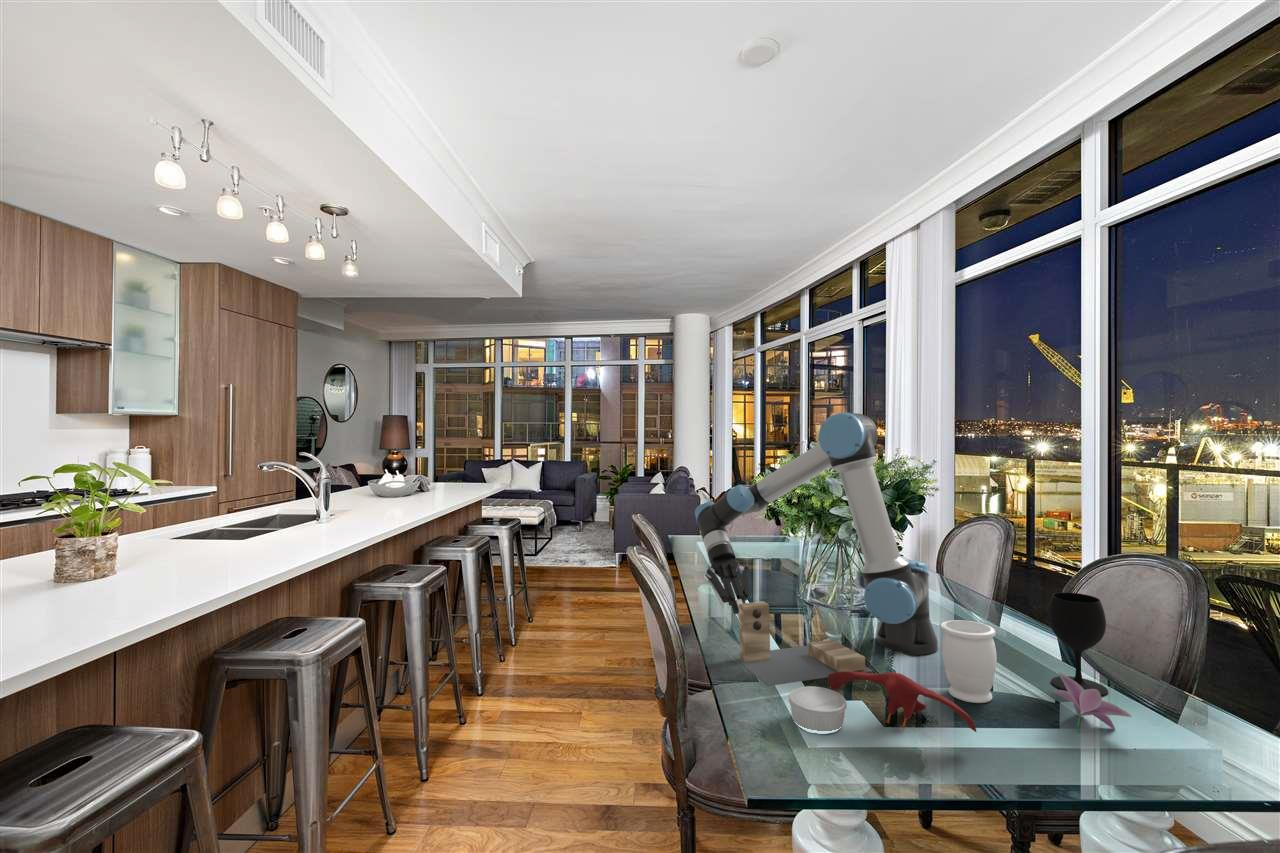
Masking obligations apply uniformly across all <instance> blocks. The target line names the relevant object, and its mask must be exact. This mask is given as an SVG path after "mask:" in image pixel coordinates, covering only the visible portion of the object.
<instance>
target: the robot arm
mask: <svg viewBox="0 0 1280 853" xmlns="http://www.w3.org/2000/svg"><path fill="white" fill-rule="evenodd" d="M878 436H879V435H878V427H877V426H876V423H875V422H874V421H873V420H872V419H871V418H870V417H869V416H867V415H865V414H862V413H851V412H848V411H847V412H846V411H843V412H838V413H835V414H832V415H830V416H828V417H827V418H826V419H825V420H824V421H823V422H822V423H821V425H820V428H819V431H818V437H817V438H818V444H816V445H814V446H813V447H811V448H809V449H808V450H806V451H805V452H803V453H802V454H800V455H798V456H797V457H796V458H793V459H792V460H790V461H789V462H787V463H786V464H784V465H782V466H781V467H779V468H778V469H775V470H774V471H773V472H771V473H770V474H768V475H767V476H765V477H763V478H762V479H759V481H757V482H755V483H753V484H752V485H750V486H749V487H747V486H744V485H743V484H737V485H735V486H734V487H733V488H730V489H729V490H728V492H726V494H724V495H723V496H722V497H721V498H719V499H718V500H717V501H716V502H712V501H706V502H704V503H701V504H699V505H697V507H696V508H695V510H694V515H695V520H696V525H697V527H698V530H699V531H700V535H701V537H702V542H703V545H704V547H705V550H706V553H707V557H708V560H709V564H710V568H708V569H706V572H705V575H704V576H705V577H706V578H707V579H708V580H709V581H710V583H711V584H712V586H713V588H714V589H715V591H716V593H717V595H718V596H719V599H721V601H722V602H723V604H725V603H727V604H728V605H729V606H730V608H731V610H732V613H733V614H734V615H737V619H738V620H739V604H743V603H747V602H746V601H747V600H748V599H749V597H750V593H751V592H750V587H749V577H748V576H749V575H748V573H749V572H748V571H749V566H748V565H744V566H742V565H740V562H739V561H738V560H737V558H736V554H735V551H734V549H733V546H732V542H731V539H730V537H729V535H728V532H727V529H726V527H727V526H729V525H730V524H731V523H732V522H734V521H735V520H737V519H738V518H740V517H741V516H744V515H748V514H751V513H758V512H760V511H761V510H763V509H765V508H766V507H767V506H768V505H769V504H770V503H772V502H775V501H776V500H778V499H779V498H781V497H782V496H784V495H786V494H787V493H790V492H791V491H793V490H795V489H796V488H798V487H800V486H801V485H803V484H805V483H806V482H808V481H809V480H811V479H813V478H815V477H817V476H818V475H820V474H821V473H824V472H825V471H827V470H829V469H830V468H831V469H832V470H834V471H836V472H838V473H839V475H840V478H841V483H842V487H843V489H844V492H845V497H846V500H847V503H848V507H849V510H850V514H851V517H852V520H853V524H854V528H855V531H856V534H857V537H858V541H859V545H860V549H861V552H862V556H863V559H864V566H863V567H862V569H861V573H862V578H863V580H864V585H865V589H864V595H863V600H864V604H865V607H866V609H867V610H868V612H869V613H870V614H871V615H872V616H873V618H876V619H877V620H878V621H880V622H879V625H878V629H877V633H876V642H877V643H878V645H880V646H882V647H884V648H885V649H888V650H891V651H894V652H895V651H896V652H900V653H902V654H905V655H912V656H913V655H914V656H919V655H920V656H921V655H929V654H933V653H935V652H937V651H938V649H939V647H938V646H939V644H938V643H939V642H938V641H939V640H938V637H937V635H936V633H935V630H934V627H933V624H932V621H931V618H930V591H929V590H930V588H929V585H930V584H929V575H930V572H929V567H928V565H927V563H925V562H923V561H919V560H911V559H905V558H903V557H902V556H901V554H900V551H899V550H900V549H899V548H898V543H897V541H896V537H895V533H894V532H893V528H892V524H891V521H890V518H889V514H888V510H887V508H886V507H887V506H886V505H885V501H884V497H883V494H882V491H881V486H880V484H879V480H878V477H877V474H876V471H875V467H874V464H875V462H876V461H877V459H878V456H877V451H876V449H875V445H876V443H877V441H878ZM738 572H739V574H740V575H741V576H740V581H741V582H740V581H739V578H738Z"/></svg>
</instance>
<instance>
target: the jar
mask: <svg viewBox="0 0 1280 853" xmlns="http://www.w3.org/2000/svg"><path fill="white" fill-rule="evenodd" d="M941 630H942V631H943V632H944V633H943V637H942V642H941V653H942V659H943V660H942V661H943V665H944V670H945V671H944V672H945V675H946V677H947V681H948V682H949V685H950V686H949V688H948V693H949V694H950V695H951V696H952V697H953V698H955V699H958V700H960V701H963V702H966V703H972V704H985V703H989V702H991V701H992V699H993V694H992V693H991V690H992V688H993V685H994V682H995V674H996V671H997V649H996V645H995V641H994V637H995V636H996V629H995V628H994V627H992V626H991V625H989V624H986V623H982V622H978V621H971V620H964V619H963V620H961V619H958V620H957V619H956V620H955V619H954V620H946V621H944V622H942V623H941Z"/></svg>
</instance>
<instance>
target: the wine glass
mask: <svg viewBox="0 0 1280 853" xmlns="http://www.w3.org/2000/svg"><path fill="white" fill-rule="evenodd" d="M1048 604H1049V605H1048V612H1047V613H1048V614H1047V615H1048V621H1049V626H1050V628H1051V630H1052V631H1053V632H1052V633H1054V634H1055V636H1056V637H1057V638H1058V639H1059V640H1060V641H1061V642H1062V643H1063V644H1064V645H1065V646H1066V647H1068V648H1070V649H1071V650H1072V651H1073V653H1074V654H1073V655H1074V660H1075V662H1074V663H1075V675H1074V676H1072V675H1069V676H1067V675H1066V676H1067V677H1069V678H1071V679H1072V680H1074V681H1075V682H1077V683H1078V684H1079V685H1080V686H1081V687H1082V688H1083V689H1084V690H1087V689H1097V690H1098V691H1099V692H1100V695H1101V698H1102V697H1105V696H1108V695H1109V690H1108V687H1106V686H1104V685H1103V684H1101V683H1099V682H1096V681H1095V680H1094V681H1093V680H1090V679H1087V678H1083V675H1082V655H1083V652H1085V651H1087V650H1089V649H1091V648H1093V647H1094V646H1096V645H1097V644H1098V643H1099V642H1100V641H1101V640H1102V639H1103V637H1104V636H1105V633H1106V628H1107V619H1106V618H1107V617H1106V613H1105V609H1104V607H1103V604H1102V602H1101V599H1100V598H1098V597H1095V596H1092V595H1088V594H1083V593H1077V592H1054V593H1053V594H1052V595H1051V597H1050V601H1049V603H1048ZM1050 682H1051V685H1053V687H1055V688H1056V689H1057V690H1064V691H1067V692H1068V690H1067V688H1066V686H1065V684H1064V682H1063V681H1062V679H1061V677H1060V676H1059V675H1058V676H1055V677H1052V678H1051V679H1050Z"/></svg>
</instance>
